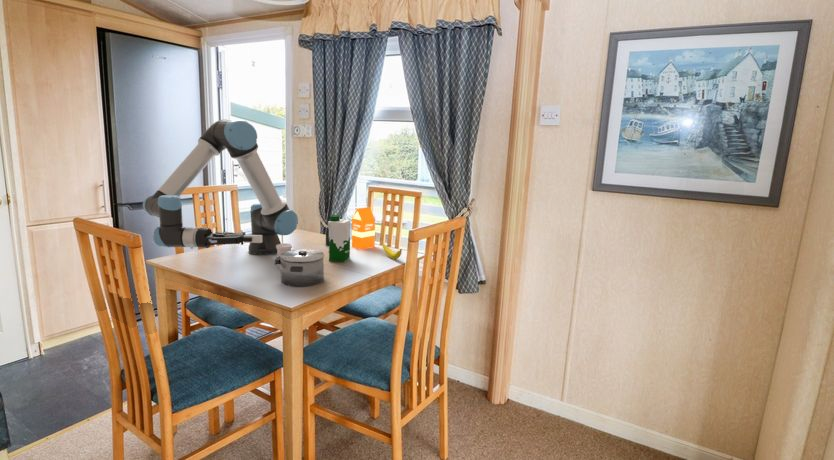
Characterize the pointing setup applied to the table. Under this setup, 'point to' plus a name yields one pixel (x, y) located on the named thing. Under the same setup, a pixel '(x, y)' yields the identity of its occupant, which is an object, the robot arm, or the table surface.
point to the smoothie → (283, 248)
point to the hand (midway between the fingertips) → (261, 238)
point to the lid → (302, 256)
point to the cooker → (301, 273)
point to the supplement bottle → (327, 236)
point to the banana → (391, 252)
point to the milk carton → (339, 239)
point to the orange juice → (363, 228)
